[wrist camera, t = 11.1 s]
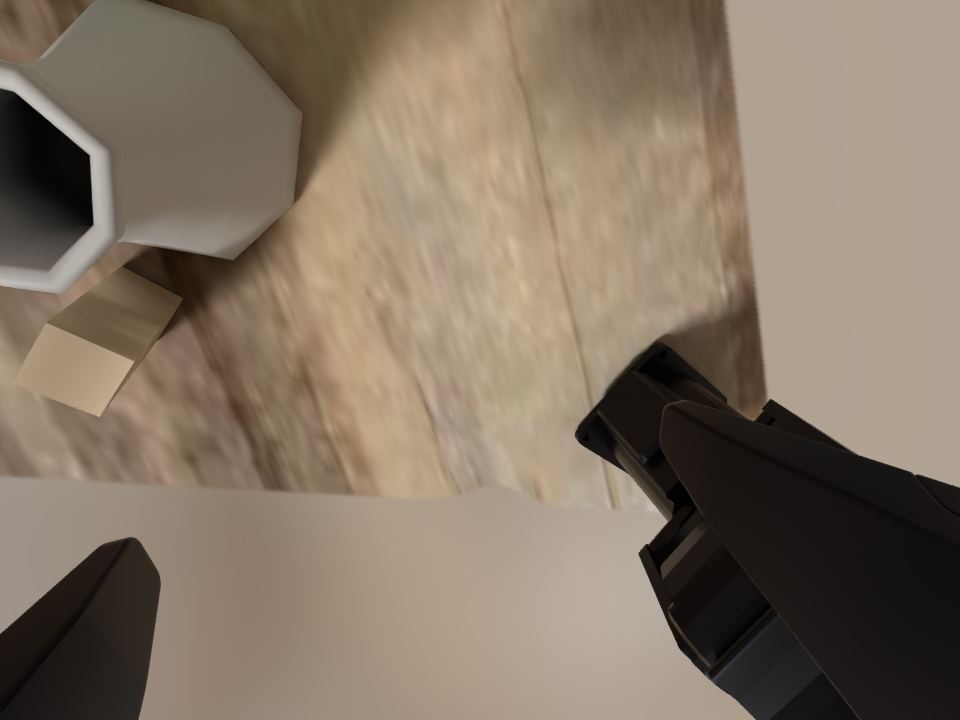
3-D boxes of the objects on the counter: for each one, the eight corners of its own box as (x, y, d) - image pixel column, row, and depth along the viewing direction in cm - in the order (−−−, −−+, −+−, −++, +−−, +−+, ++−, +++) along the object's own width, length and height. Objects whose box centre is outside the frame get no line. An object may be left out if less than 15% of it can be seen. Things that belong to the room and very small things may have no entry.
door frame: (476, -166, 14) (543, -292, 9) (156, 341, 17) (99, 416, 13) (420, -242, 13) (466, -420, 8) (94, 313, 16) (11, 384, 12)
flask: (82, -71, 12) (-460, -469, 4) (342, 105, 16) (354, 97, 7) (3, 180, 14) (-488, 281, 6) (250, 291, 18) (172, 461, 9)
